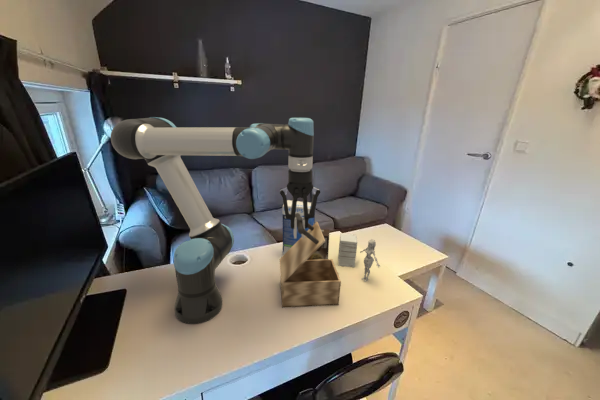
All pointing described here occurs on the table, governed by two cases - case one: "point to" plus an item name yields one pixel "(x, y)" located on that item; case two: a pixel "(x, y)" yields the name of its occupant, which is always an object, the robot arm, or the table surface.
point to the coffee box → (322, 248)
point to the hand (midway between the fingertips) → (298, 236)
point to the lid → (301, 248)
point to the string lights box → (287, 231)
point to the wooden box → (312, 285)
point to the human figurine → (369, 258)
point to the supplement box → (347, 250)
